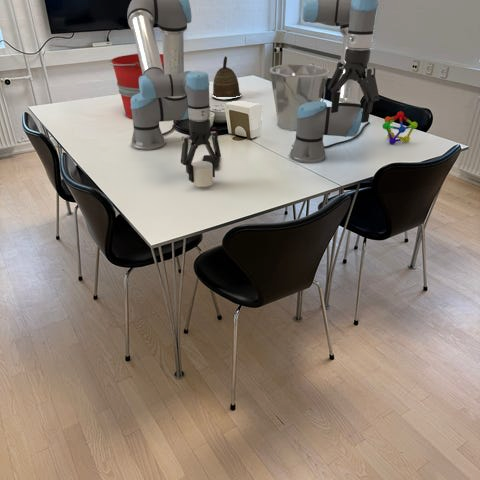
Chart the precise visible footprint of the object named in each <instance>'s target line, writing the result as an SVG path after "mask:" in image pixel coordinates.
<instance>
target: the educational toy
mask: <svg viewBox="0 0 480 480" xmlns="http://www.w3.org/2000/svg"><path fill="white" fill-rule="evenodd" d="M397 119H399V124H400V125H399V127H398V126H393V125H391V124H392V123H394V122H395V121H396V120H397ZM403 120H404V121H405V122H407V123H408V124H409V125H407V126H404V123H403ZM417 127H418V122H417V121H411V120H410V119H409V118H408V117H406V116H405V113H404V112H403V111H401V110H400V111H398V112H397V114H396V115H394V116H391V117H390V116H386V117H385V118H384V122H383V123H382V129H383V130H386V132H387V138H388V142H389V145H395V144H396V143H397V142H402V141H403V142H404V143H409V142H410V140H411V138H410V136H411V134H412V132H413V131H414V130H415V129H417ZM392 129H393V130H397V131H398V132H396V134H395V133H394V132H392ZM408 129H409V131H408V133H407V134H406V135H404V136H401V134H403V133H405V132H406V130H408ZM399 135H400V136H399Z"/></svg>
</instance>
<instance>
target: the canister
mask: <svg viewBox="0 0 480 480" xmlns="http://www.w3.org/2000/svg"><path fill="white" fill-rule="evenodd" d="M191 165H193V174H194V182H191V181H190V183H191V185H192V186H194V187H198V188H206V187H210V186H212V185H213V183H214V177H213V165H212V163H210V162H207V161H203V160H198V161H194V162H192V163H191Z"/></svg>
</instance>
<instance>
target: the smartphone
mask: <svg viewBox="0 0 480 480" xmlns="http://www.w3.org/2000/svg"><path fill="white" fill-rule="evenodd" d="M209 159H212V158H211V156H210V154H204V155H203V157H202V161H207V162H209ZM220 160H221V157H220V158H218V160H217V161H216V168H215V171H218V170H219V168H220Z"/></svg>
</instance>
